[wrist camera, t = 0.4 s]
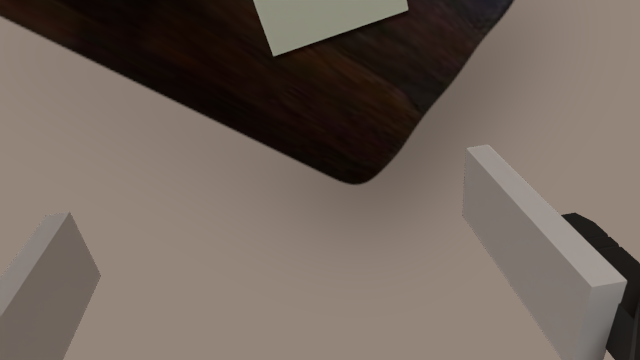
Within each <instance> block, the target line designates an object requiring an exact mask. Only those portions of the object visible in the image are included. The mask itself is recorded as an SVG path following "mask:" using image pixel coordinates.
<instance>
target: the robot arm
mask: <svg viewBox="0 0 640 360" xmlns="http://www.w3.org/2000/svg"><path fill="white" fill-rule="evenodd" d="M463 216H464V218H465V220H466V221H467V222H468V224H469V225H470V227H471V228H472V230H473V231H474V233H475V234H476V236H477V237H478V238H479V240H480V241H481V243H482V244H483V246H484V247H485V249H486V250H487V251H488V253H489V254H490V256H491V257H492V259H493V260H494V262H495V263H496V265H497V266H498V268H499V269H500V271H501V272H502V273H503V275H504V276H505V278H506V279H507V281H508V282H509V283H510V285H511V287H512V288H513V289H514V291H515V292H516V294H517V295H518V297H519V298H520V300H521V301H522V303H523V304H524V306H525V307H526V308H527V310H528V311H529V313H530V314H531V316H532V317H533V319H534V320H535V322H536V323H537V324H538V326H539V327H540V329H541V330H542V332H543V333H544V335H545V336H546V338H547V339H548V340H549V342H550V343H551V345H552V346H553V348H554V349H555V351H556V352H557V354H558V355H559V356H560V358H561V359H562V360H603V359H604V355H605V353H606V349H607V350H608V352H609V353H610V354H611V355H612V357H613V358H614V359H615V360H640V263H639V262H638V261H637V260H635V259H634V258H633V257H632V256H631V255H630V254H629V253H628V252H627V251H625V250H624V249H623V248H622V247H619V245H618V243H617V242H615V241H614V240H613V239H612V238H611V237H608V235H607V233H605V232H604V231H603V230H602V229H601V228H600V227H599V226H598V225H597V224H596V223H594V222H593V221H591V220H589V219H587V218H585V217H582V216H581V215H578V214H577V213H571V214H565V215H560V214H559V213H558V212H557V211H556V210H555V209H554V208H553V207H552V206H551V205H550V204H548V202H546V201H545V200H544V199H543V198H542V197H541V196H540V195H539V194H538V193H537V192H536V191H535V190H534V189H533V188H532V187H531V186H530V185H529V184H528V183H527V182H526V181H525V180H524V179H523V178H522V177H521V176H520V175H519V174H518V173H517V172H516V171H515V170H514V169H513V168H512V167H511V166H510V165H509V164H508V163H507V162H506V161H505V160H504V159H503V158H502V157H501V156H499V154H498V153H497V152H495V151H494V150H493V149H492V148H491V147H490V146H489V145H481V146H475V147H469V148H466V157H465V177H464V197H463ZM100 277H101V275H100V273H99V271H98V269H97V266H96V264H95V262H94V260H93V258H92V256H91V254H90V252H89V250H88V248H87V246H86V244H85V242H84V240H83V238H82V236H81V234H80V232H79V230H78V228H77V225H76V223H75V221H74V219H73V217H72V215H71V213H70V212H66V213H59V214H54V215H47V216H45V218H44V219H43V220H42V222H41V223H40V224H39V226H38V227H37V229H36V230H35V231H34V233H33V234H32V236H31V237H30V238H29V240H28V241H27V242H26V244H25V245H24V246H23V248H22V249H21V250H20V252H19V253H18V255H17V256H16V257H15V259H14V260H13V261H12V263H11V264H10V266H9V267H8V268H7V270H6V271H5V272H4V274H3V275H2V276H1V278H0V360H63V358H64V356H65V354H66V352H67V350H68V347H69V345H70V343H71V341H72V339H73V336H74V334H75V332H76V330H77V327H78V325H79V323H80V321H81V319H82V317H83V314H84V312H85V310H86V308H87V305H88V303H89V301H90V299H91V296H92V294H93V292H94V290H95V288H96V286H97V283H98V281H99V279H100Z"/></svg>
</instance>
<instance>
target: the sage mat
mask: <svg viewBox="0 0 640 360" xmlns="http://www.w3.org/2000/svg"><path fill="white" fill-rule="evenodd" d="M253 1H254V4H255V7H256V10H257V12H258V15H259V18H260V21H261V23H262V26H263V29H264V32H265V34H266V37H267V40H268V43H269V45H270V48H271V51H272V54H273V56H276V55H279V54H282V53H285V52H288V51H291V50H294V49H296V48H299V47H302V46H305V45H308V44H311V43H314V42H317V41H320V40H323V39H326V38H328V37H331V36H334V35H337V34H340V33H343V32H346V31H349V30H352V29H355V28H357V27H360V26H363V25H366V24H369V23H372V22H375V21H378V20H381V19H384V18H387V17H389V16H392V15H395V14H398V13H401V12H404V11H407V10H408V6H407V0H253Z"/></svg>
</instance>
